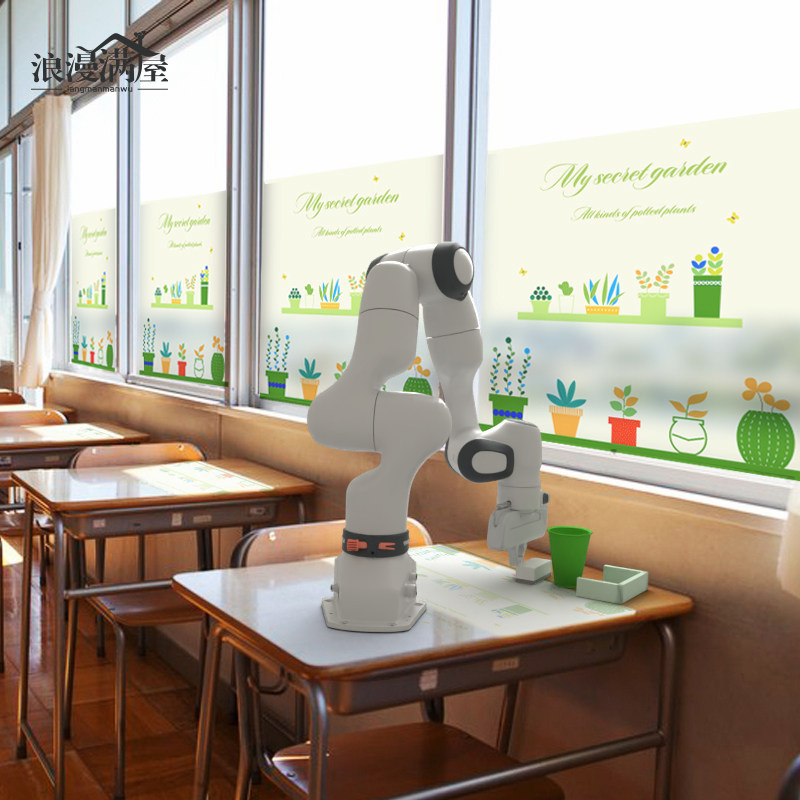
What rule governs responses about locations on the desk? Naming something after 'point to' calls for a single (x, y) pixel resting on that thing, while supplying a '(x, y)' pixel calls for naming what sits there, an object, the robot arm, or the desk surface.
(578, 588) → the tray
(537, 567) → the eraser
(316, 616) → the desk surface
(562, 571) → the cup
